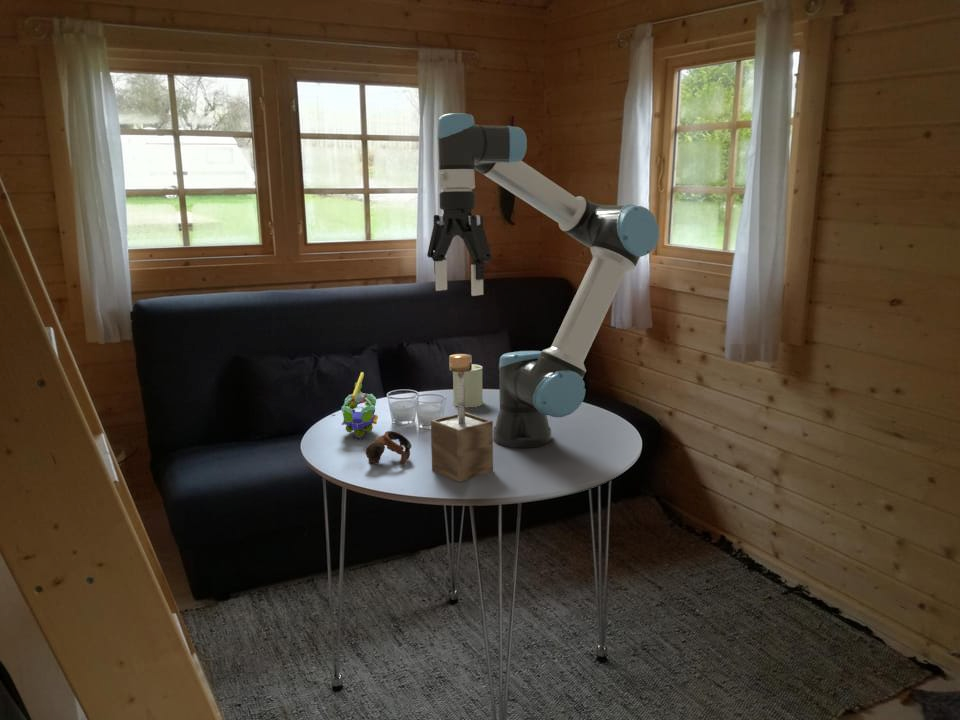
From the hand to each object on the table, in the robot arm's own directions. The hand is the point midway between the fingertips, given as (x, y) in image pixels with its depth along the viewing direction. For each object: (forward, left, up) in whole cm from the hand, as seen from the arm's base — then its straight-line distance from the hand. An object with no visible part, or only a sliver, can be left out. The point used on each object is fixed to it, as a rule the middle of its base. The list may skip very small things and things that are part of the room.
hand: (458, 292), depth 159 cm
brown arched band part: (+10, -17, -42) cm, 46 cm away
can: (-37, -42, -41) cm, 70 cm away
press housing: (0, 0, -41) cm, 41 cm away
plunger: (0, 0, -31) cm, 31 cm away
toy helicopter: (+4, -38, -41) cm, 57 cm away
